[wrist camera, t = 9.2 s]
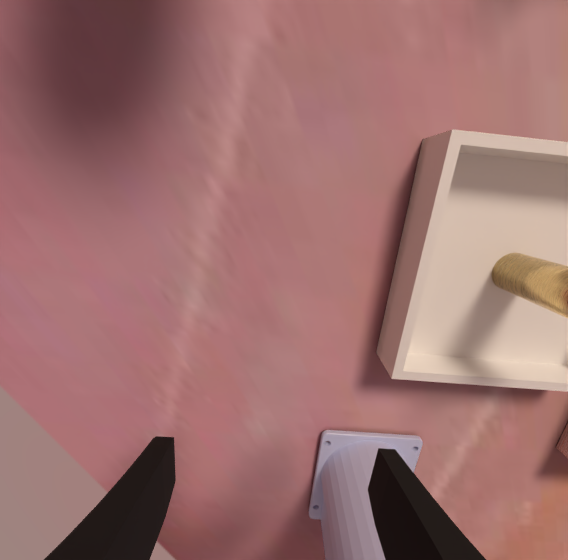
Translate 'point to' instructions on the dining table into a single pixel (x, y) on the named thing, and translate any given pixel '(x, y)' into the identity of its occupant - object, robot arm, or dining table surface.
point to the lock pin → (534, 281)
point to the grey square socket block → (564, 442)
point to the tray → (478, 264)
